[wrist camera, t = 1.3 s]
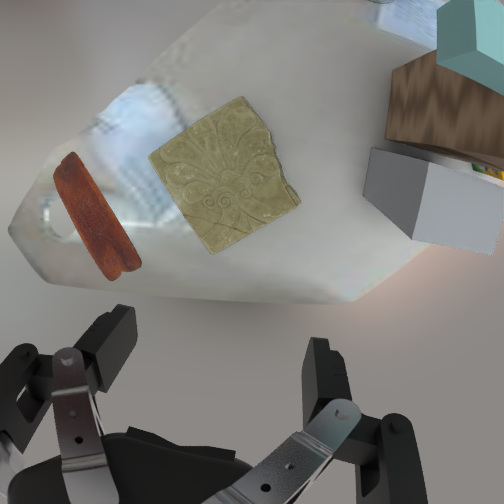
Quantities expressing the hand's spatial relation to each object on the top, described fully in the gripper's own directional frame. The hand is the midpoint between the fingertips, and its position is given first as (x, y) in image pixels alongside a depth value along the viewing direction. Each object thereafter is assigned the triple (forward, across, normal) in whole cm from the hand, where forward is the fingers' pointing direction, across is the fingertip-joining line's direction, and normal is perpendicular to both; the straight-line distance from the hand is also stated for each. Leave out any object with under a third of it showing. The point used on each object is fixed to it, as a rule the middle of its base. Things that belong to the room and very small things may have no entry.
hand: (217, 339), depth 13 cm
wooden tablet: (+39, +32, +9) cm, 51 cm away
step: (+38, -22, -5) cm, 44 cm away
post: (+38, -24, -17) cm, 48 cm away
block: (+6, -20, -17) cm, 27 cm away
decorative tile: (+39, +6, -1) cm, 39 cm away
